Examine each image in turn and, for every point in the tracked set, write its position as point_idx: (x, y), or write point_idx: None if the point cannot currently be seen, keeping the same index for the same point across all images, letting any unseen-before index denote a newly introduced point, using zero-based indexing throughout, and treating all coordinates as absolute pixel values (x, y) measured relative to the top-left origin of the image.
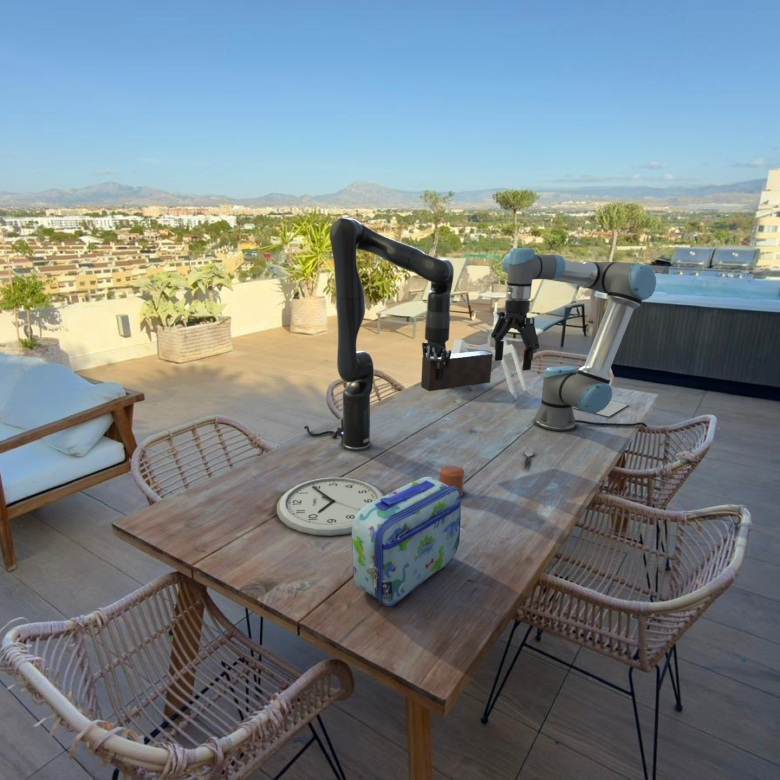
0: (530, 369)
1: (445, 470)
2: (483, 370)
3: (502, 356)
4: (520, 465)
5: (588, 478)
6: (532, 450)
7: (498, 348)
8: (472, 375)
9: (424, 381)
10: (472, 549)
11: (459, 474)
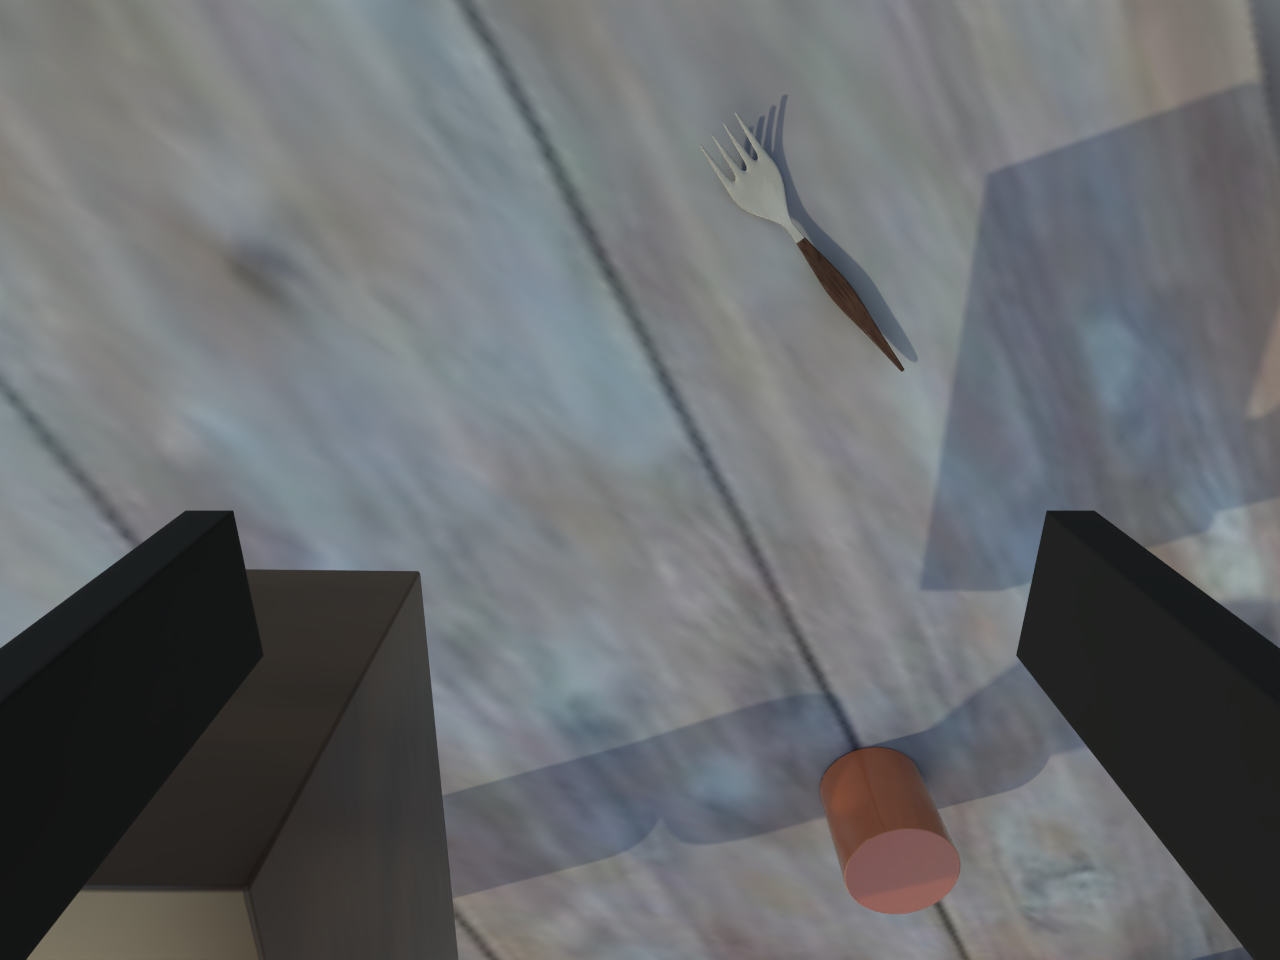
0: (1095, 514)
1: (883, 892)
2: (379, 791)
3: (193, 552)
4: (838, 343)
5: (1202, 82)
6: (752, 143)
7: (97, 818)
8: (413, 887)
9: None
10: (1195, 904)
11: (950, 865)
